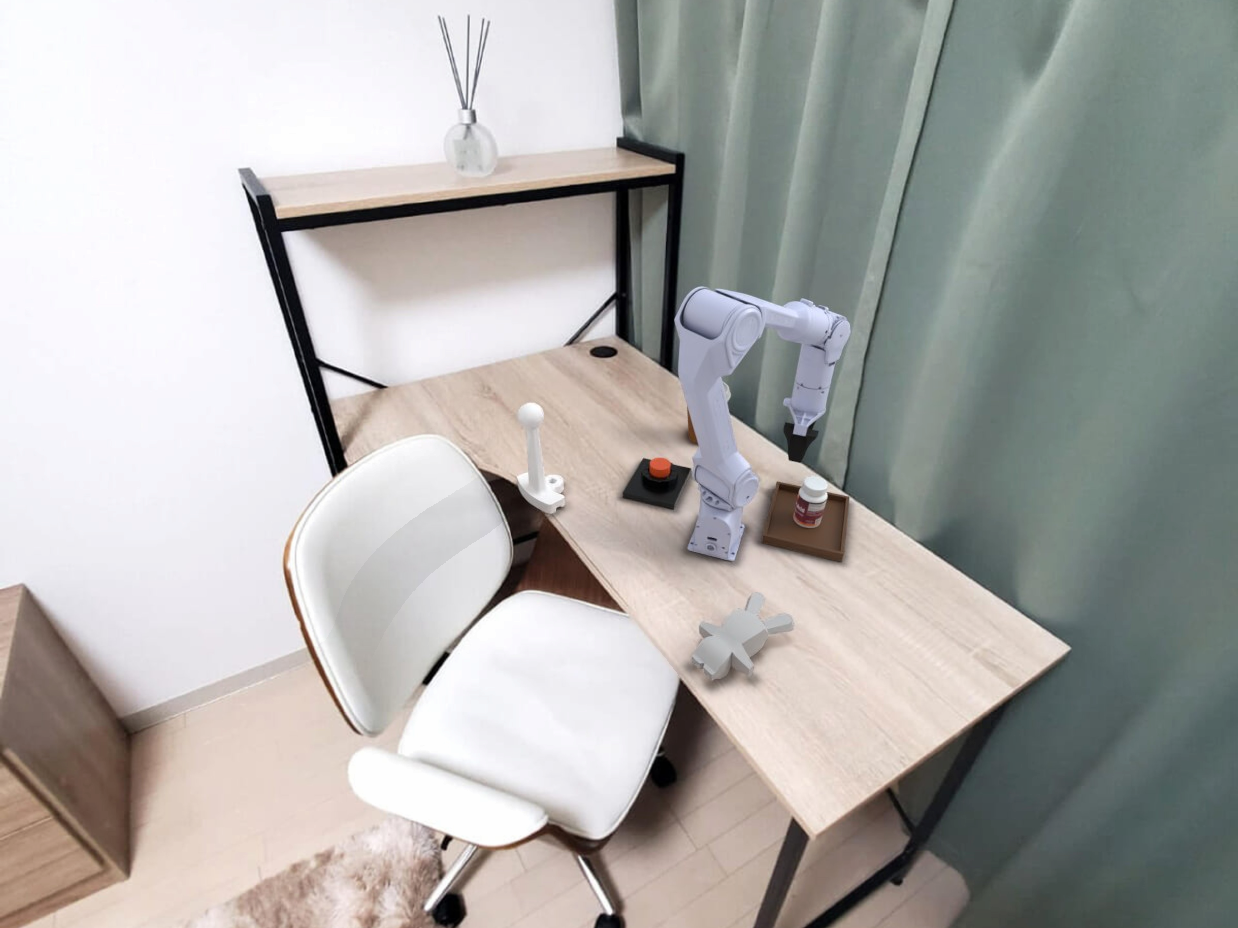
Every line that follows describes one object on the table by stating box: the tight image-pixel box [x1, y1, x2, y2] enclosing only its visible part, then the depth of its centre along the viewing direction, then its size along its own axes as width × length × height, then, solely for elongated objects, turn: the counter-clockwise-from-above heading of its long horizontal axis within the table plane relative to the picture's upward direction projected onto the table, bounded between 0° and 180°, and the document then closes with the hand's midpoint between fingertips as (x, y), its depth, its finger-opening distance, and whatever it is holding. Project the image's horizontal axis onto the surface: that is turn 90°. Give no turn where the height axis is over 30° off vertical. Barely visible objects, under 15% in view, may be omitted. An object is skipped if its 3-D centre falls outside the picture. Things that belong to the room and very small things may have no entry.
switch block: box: [622, 457, 692, 511], centre depth 115 cm, size 12×10×3 cm
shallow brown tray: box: [760, 481, 851, 563], centre depth 107 cm, size 16×13×2 cm
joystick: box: [516, 402, 566, 515], centre depth 108 cm, size 11×8×20 cm
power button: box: [649, 457, 672, 478], centre depth 115 cm, size 4×4×2 cm
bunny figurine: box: [690, 591, 796, 682], centre depth 84 cm, size 10×5×15 cm
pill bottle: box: [793, 475, 829, 528], centre depth 104 cm, size 5×5×8 cm
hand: (798, 449), depth 108 cm, fingers open, 7 cm apart
